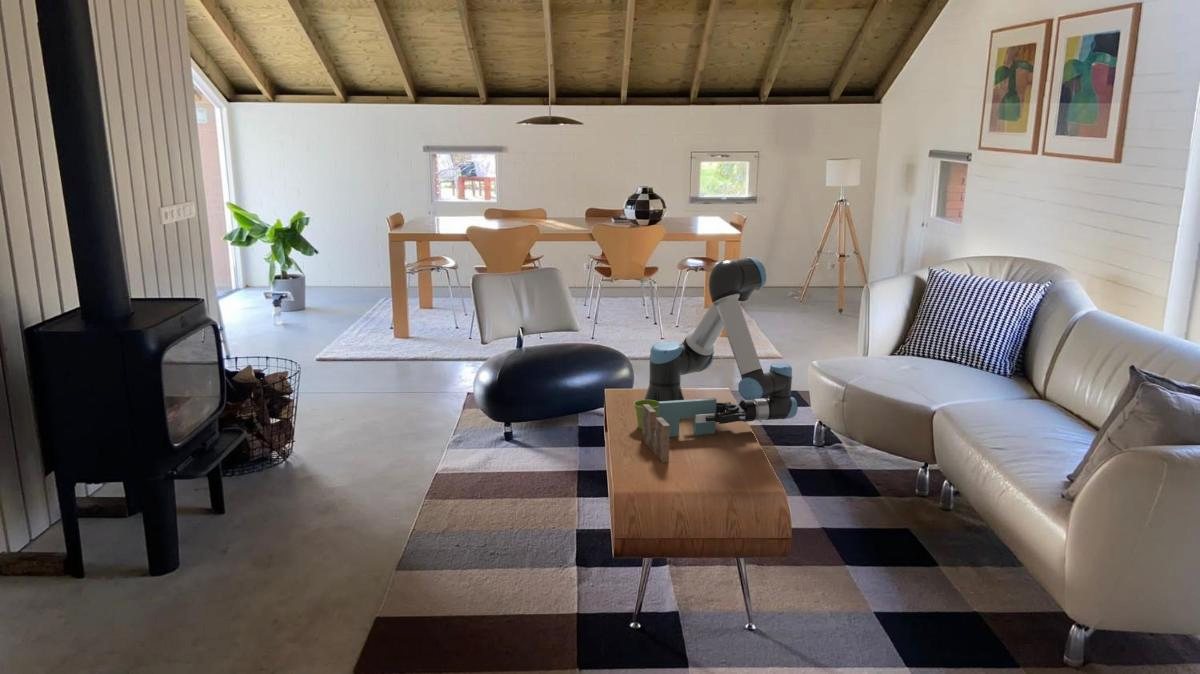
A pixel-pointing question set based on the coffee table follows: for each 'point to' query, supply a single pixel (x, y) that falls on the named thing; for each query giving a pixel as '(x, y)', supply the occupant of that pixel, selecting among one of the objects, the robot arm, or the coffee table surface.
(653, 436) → the walnut board
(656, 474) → the coffee table surface
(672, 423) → the slotted plate
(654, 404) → the plant pot
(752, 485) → the coffee table surface
